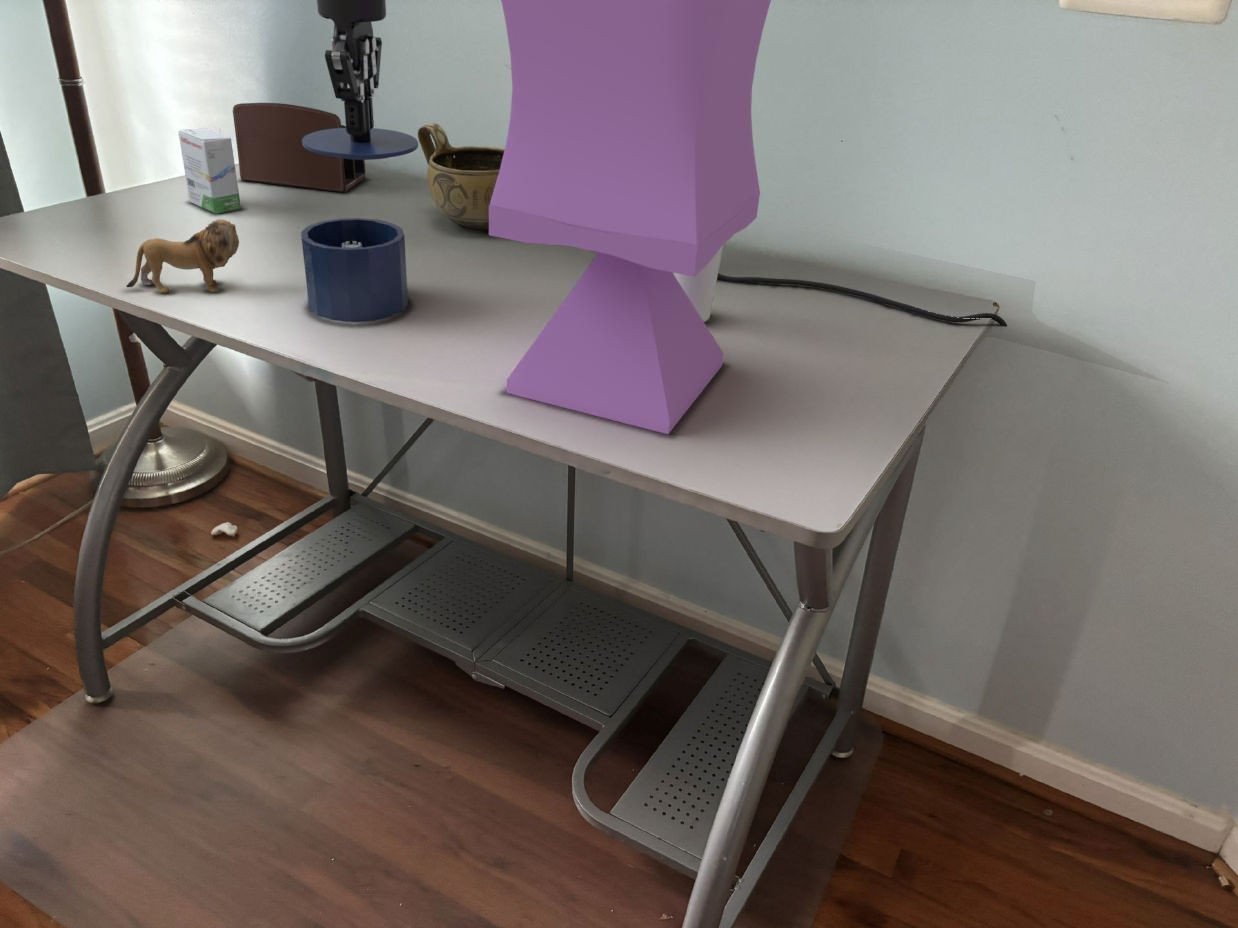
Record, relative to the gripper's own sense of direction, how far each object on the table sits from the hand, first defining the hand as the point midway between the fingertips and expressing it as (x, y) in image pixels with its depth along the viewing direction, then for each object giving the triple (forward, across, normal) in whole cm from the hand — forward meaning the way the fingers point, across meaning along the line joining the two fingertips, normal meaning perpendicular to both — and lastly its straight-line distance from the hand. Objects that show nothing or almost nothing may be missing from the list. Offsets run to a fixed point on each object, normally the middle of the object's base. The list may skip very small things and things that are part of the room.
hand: (360, 131), depth 116 cm
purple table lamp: (+23, +14, +34) cm, 44 cm away
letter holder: (+23, -55, -30) cm, 66 cm away
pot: (+23, 0, -2) cm, 23 cm away
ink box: (+23, -36, -38) cm, 57 cm away
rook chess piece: (+22, 0, -2) cm, 22 cm away
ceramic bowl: (+23, -39, +6) cm, 45 cm away
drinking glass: (+23, -7, +42) cm, 48 cm away
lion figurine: (+23, -1, -25) cm, 34 cm away
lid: (+2, 0, 0) cm, 2 cm away
